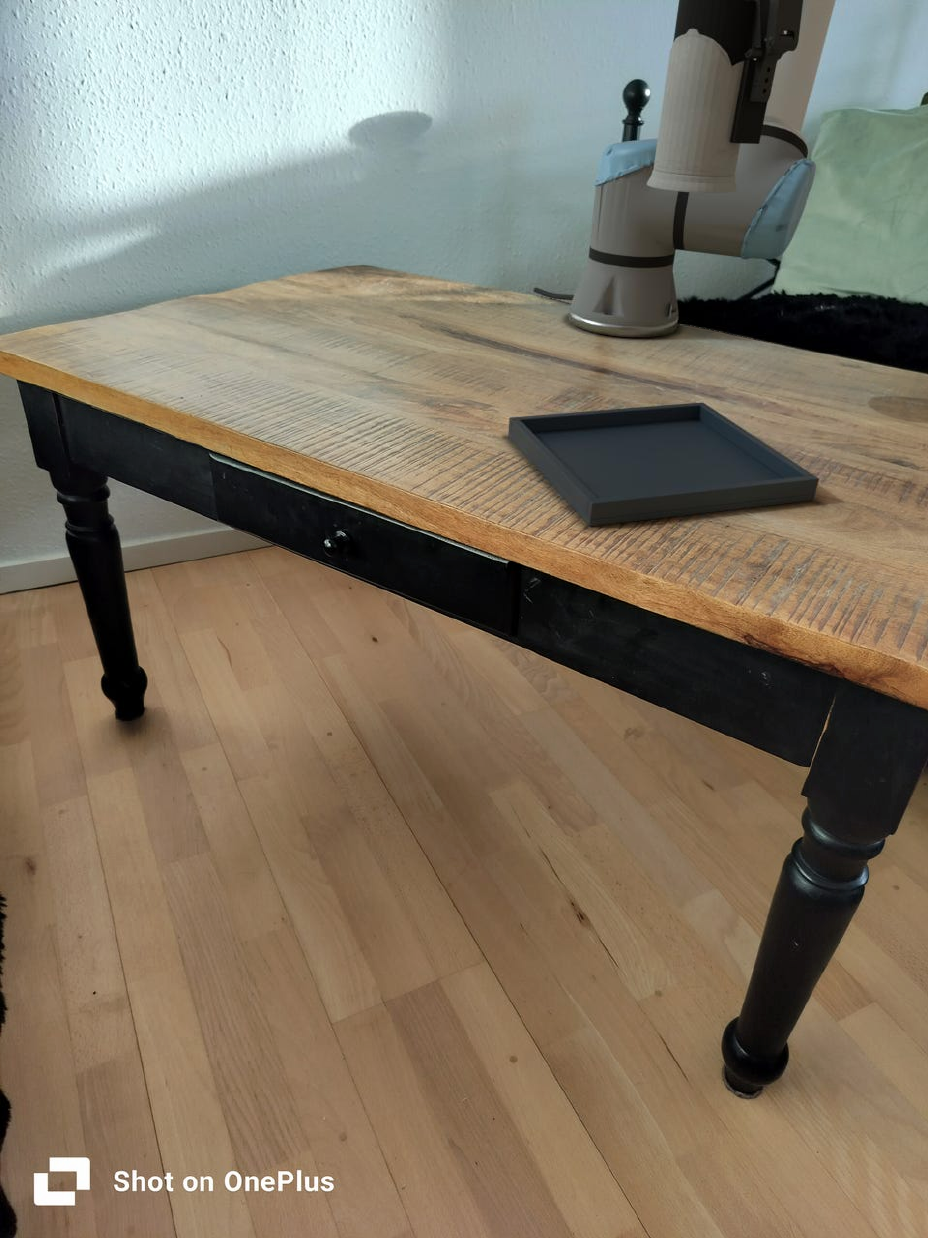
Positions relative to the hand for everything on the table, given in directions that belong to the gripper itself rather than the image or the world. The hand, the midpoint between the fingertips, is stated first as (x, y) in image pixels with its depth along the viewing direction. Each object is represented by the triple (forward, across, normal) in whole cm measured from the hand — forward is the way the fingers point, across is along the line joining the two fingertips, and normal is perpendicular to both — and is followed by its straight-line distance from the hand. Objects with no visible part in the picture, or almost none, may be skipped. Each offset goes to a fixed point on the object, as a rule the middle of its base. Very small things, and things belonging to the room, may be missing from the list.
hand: (719, 138), depth 84 cm
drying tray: (+26, +17, -12) cm, 33 cm away
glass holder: (+4, -1, 0) cm, 4 cm away
